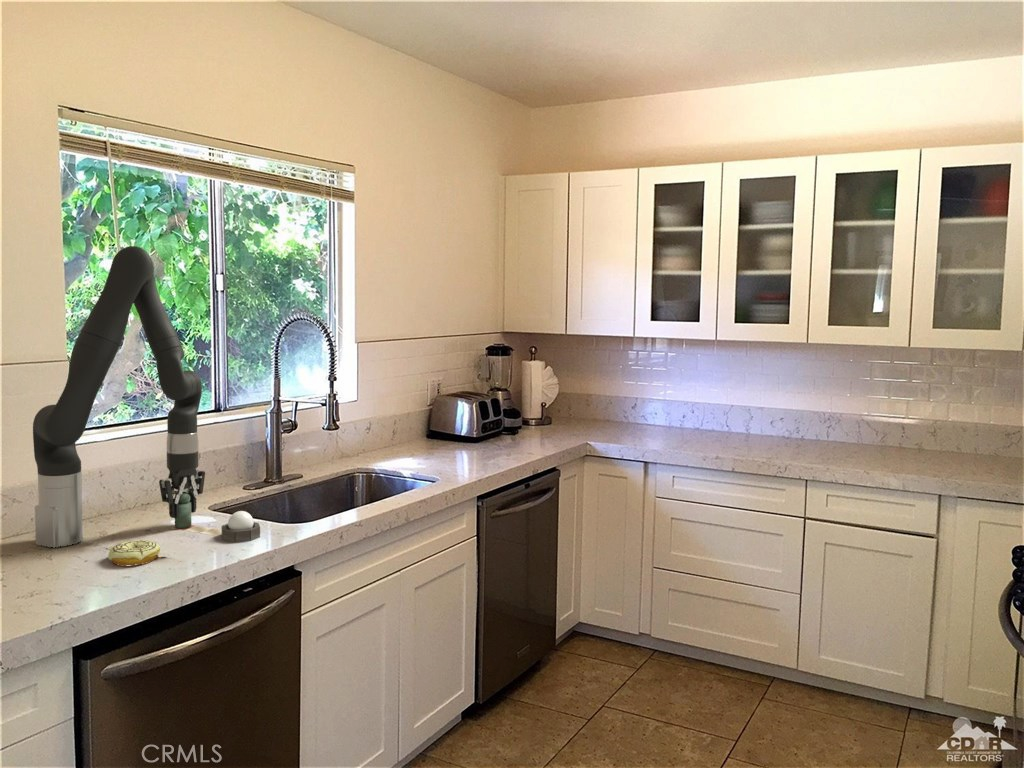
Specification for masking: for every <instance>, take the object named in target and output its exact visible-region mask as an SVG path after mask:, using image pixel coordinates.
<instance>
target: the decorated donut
mask: <svg viewBox="0 0 1024 768" xmlns="http://www.w3.org/2000/svg"><path fill="white" fill-rule="evenodd" d="M160 552H161V546H160V544H158V543H157V542H155V541H152V540H147V539H143V540H142V539H137V540H136V539H134V540H132V539H131V540H126V541H123V542H119V543H116V544H114V546H113V547H111V548H110V550H109V552H108V554H107V555H108V557H107V558H108V560H109V561H111V562H112V563H113V564H115V565H116V564H119V565H118V566H120V565H135V564H142V563H146V562H148V563H150V562H149V561H151V562H153V561H154V560H156V559H157V558H158V556H159V554H160ZM152 560H153V561H152ZM142 565H143V564H142Z"/></svg>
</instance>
